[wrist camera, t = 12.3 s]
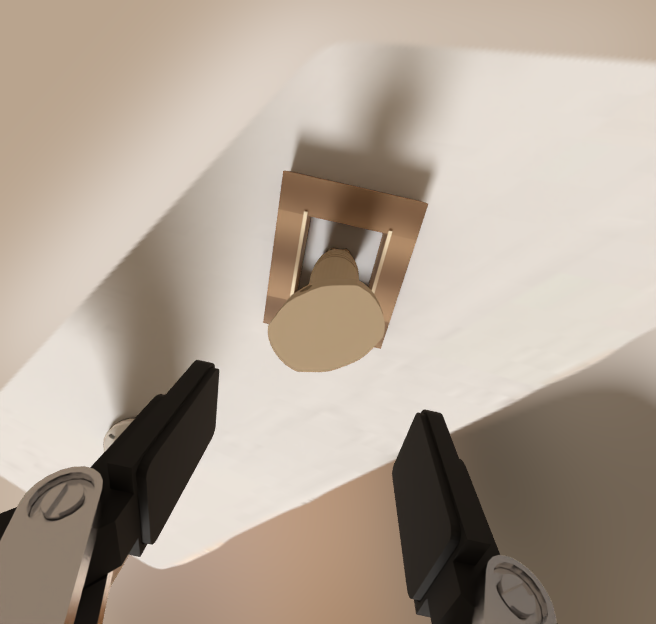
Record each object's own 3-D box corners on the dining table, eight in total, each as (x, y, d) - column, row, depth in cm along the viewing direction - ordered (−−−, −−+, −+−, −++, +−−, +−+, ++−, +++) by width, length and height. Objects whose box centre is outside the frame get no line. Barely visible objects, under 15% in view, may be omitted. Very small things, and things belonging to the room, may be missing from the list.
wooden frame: (378, 334, 33) (380, 349, 30) (270, 310, 33) (262, 323, 30) (420, 201, 27) (428, 204, 24) (290, 171, 27) (282, 170, 24)
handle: (298, 254, 30) (252, 318, 16) (356, 224, 28) (360, 267, 15) (320, 295, 32) (296, 384, 18) (377, 269, 30) (398, 345, 16)
